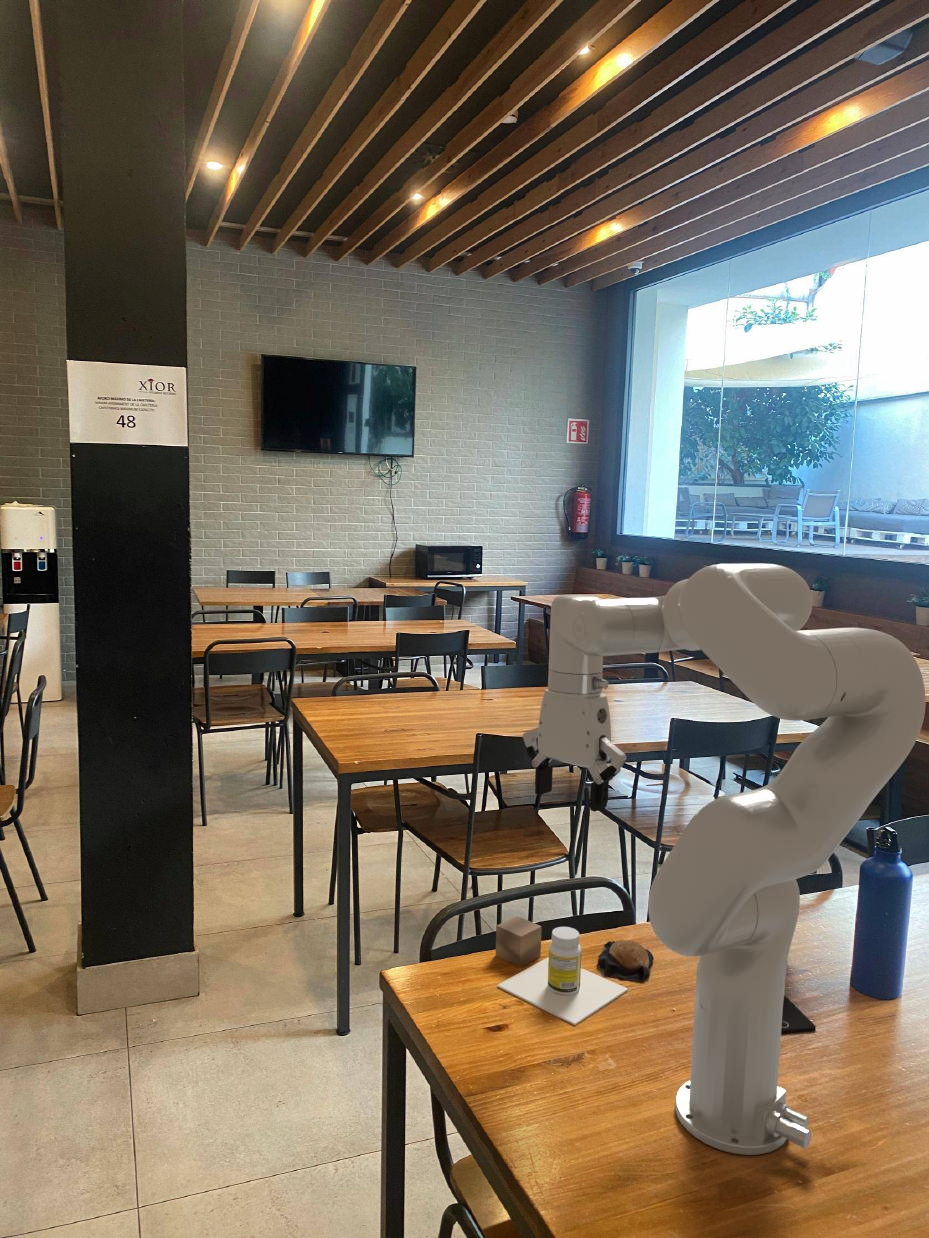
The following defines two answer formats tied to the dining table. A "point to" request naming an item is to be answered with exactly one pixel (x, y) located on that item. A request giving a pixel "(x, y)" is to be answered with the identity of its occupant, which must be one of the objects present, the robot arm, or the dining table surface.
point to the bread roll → (625, 961)
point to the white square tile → (566, 1007)
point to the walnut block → (518, 941)
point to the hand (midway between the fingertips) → (570, 800)
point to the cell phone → (794, 1019)
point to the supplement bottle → (564, 961)
